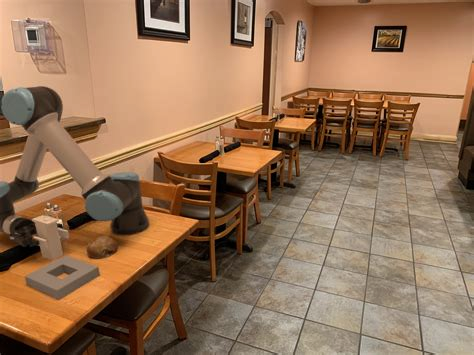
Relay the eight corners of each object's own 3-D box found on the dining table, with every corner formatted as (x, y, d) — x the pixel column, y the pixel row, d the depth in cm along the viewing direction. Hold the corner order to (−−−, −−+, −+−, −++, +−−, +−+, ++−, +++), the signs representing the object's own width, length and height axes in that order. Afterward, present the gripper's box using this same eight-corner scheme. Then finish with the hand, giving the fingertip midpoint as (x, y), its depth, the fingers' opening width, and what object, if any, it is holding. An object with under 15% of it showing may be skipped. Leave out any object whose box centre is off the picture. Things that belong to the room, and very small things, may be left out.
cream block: (50, 250, 128) (42, 212, 124) (65, 256, 124) (58, 217, 120) (39, 255, 125) (31, 216, 121) (55, 261, 121) (46, 221, 116)
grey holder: (67, 263, 119) (66, 255, 118) (99, 275, 111) (98, 266, 110) (26, 284, 108) (24, 276, 107) (58, 299, 100) (57, 290, 99)
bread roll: (97, 270, 121) (100, 253, 117) (78, 252, 125) (81, 235, 121) (120, 257, 129) (124, 241, 125) (102, 241, 133) (105, 225, 129)
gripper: (47, 226, 141) (84, 237, 129) (-8, 247, 124) (30, 262, 113) (43, 208, 138) (81, 218, 127) (-13, 228, 122) (25, 241, 111)
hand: (57, 239), depth 120 cm, fingers open, 7 cm apart
